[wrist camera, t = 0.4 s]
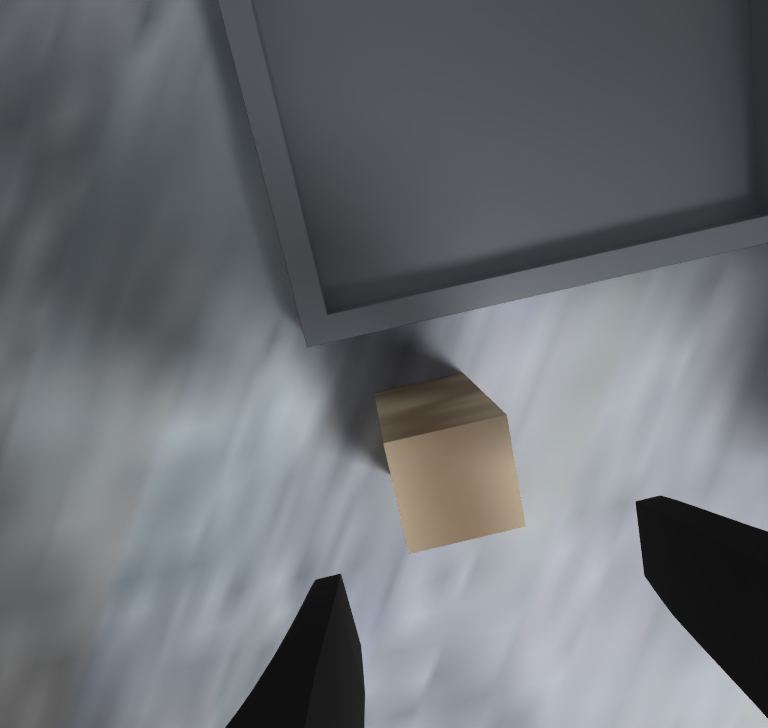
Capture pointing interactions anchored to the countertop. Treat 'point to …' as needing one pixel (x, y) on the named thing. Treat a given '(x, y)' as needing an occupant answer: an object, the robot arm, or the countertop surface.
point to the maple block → (449, 462)
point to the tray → (498, 145)
